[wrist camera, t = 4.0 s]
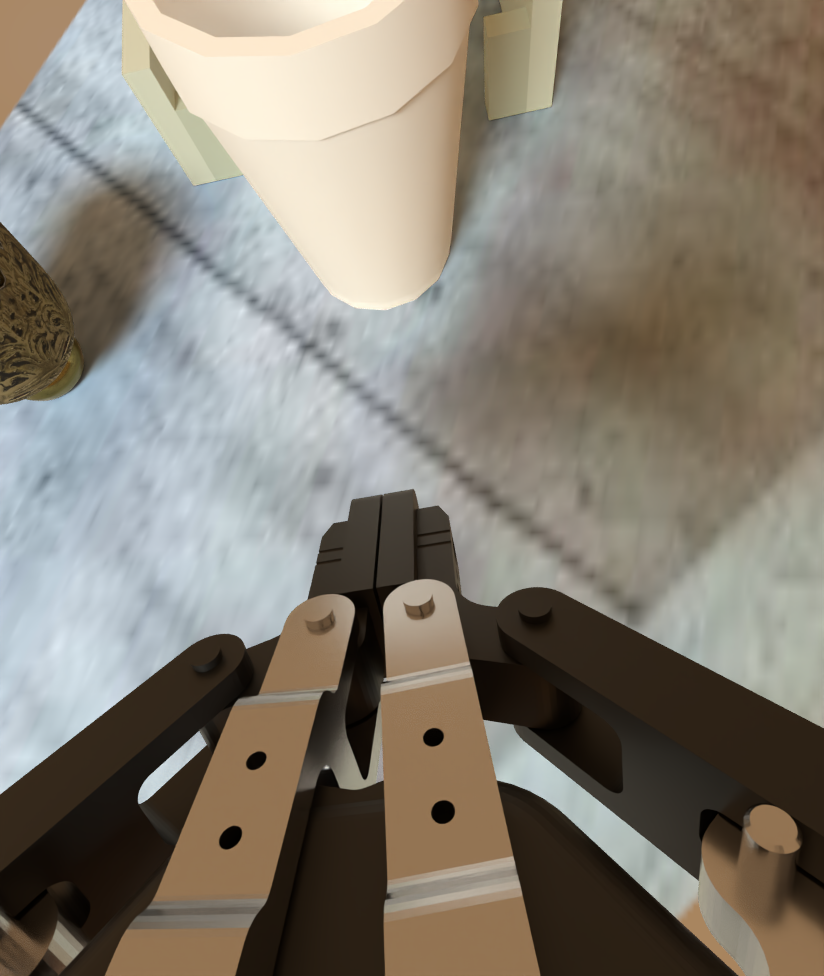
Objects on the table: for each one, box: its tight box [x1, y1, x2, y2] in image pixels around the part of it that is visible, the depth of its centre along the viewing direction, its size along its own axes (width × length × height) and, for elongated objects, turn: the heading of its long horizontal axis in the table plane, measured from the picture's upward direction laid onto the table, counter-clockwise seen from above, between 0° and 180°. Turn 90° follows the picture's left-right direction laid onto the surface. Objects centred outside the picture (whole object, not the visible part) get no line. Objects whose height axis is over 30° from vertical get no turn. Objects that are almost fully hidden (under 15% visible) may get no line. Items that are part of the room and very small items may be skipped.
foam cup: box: [124, 0, 478, 310], centre depth 21 cm, size 10×9×13 cm
